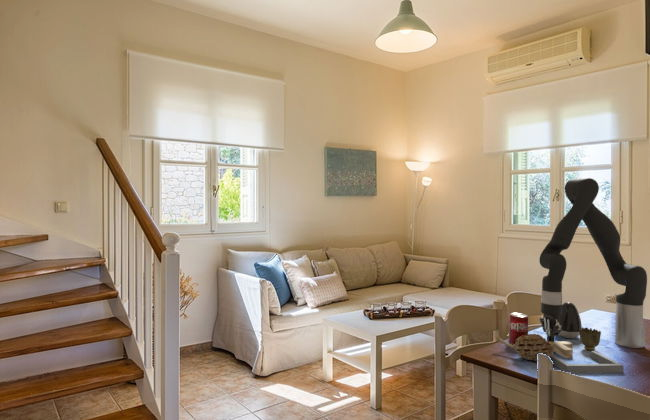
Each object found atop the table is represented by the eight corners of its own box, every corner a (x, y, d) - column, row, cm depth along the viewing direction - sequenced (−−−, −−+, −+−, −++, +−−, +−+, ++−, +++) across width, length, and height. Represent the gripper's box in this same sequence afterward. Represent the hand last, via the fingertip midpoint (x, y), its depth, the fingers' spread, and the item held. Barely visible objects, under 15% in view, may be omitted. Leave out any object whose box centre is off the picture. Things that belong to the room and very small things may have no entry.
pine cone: (557, 362, 156) (558, 335, 156) (548, 369, 149) (549, 341, 149) (497, 347, 172) (498, 322, 172) (487, 353, 165) (487, 327, 165)
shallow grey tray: (594, 357, 162) (594, 351, 162) (623, 372, 147) (623, 365, 147) (543, 357, 161) (543, 351, 160) (567, 373, 146) (567, 365, 146)
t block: (567, 348, 171) (567, 341, 171) (584, 357, 161) (584, 349, 161) (538, 348, 171) (538, 341, 171) (553, 357, 161) (553, 349, 161)
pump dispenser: (551, 332, 194) (552, 298, 194) (577, 334, 191) (578, 300, 191) (557, 339, 184) (558, 303, 184) (584, 341, 181) (585, 305, 181)
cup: (593, 354, 165) (593, 333, 165) (574, 348, 172) (575, 328, 172) (604, 351, 169) (605, 331, 169) (585, 345, 175) (586, 326, 175)
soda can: (530, 347, 173) (530, 317, 172) (510, 345, 174) (511, 316, 174) (525, 341, 180) (525, 313, 180) (506, 340, 181) (507, 312, 181)
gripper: (570, 305, 166) (569, 350, 166) (551, 298, 179) (550, 339, 180) (551, 305, 166) (550, 350, 166) (533, 298, 179) (532, 339, 179)
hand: (550, 344), depth 173 cm, fingers closed
